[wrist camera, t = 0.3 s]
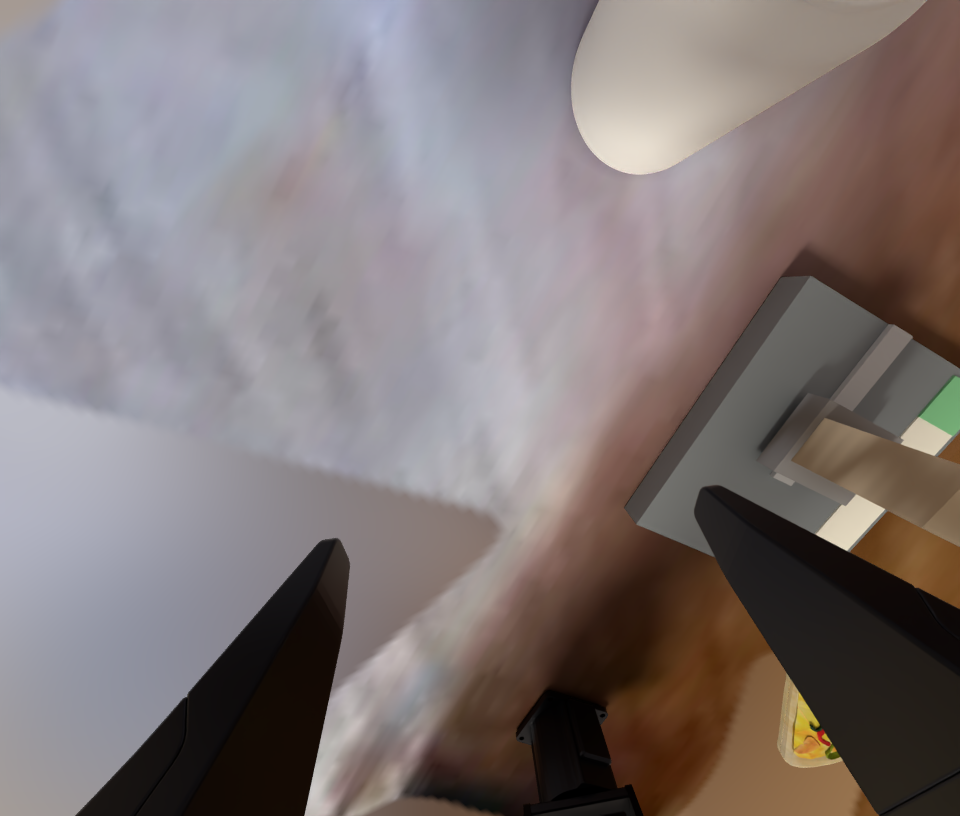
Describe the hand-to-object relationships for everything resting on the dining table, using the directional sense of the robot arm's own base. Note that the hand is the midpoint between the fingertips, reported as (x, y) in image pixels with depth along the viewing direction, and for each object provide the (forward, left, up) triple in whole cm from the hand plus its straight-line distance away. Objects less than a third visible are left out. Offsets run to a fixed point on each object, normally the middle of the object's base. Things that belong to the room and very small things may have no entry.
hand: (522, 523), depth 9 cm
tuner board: (+5, -22, -15) cm, 27 cm away
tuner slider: (+6, -23, -13) cm, 27 cm away
